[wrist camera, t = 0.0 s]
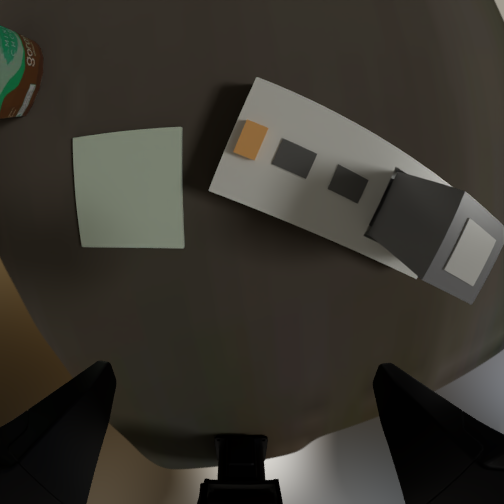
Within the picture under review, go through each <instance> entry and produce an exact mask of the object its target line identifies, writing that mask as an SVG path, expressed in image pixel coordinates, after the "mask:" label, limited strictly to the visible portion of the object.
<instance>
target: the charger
mask: <svg viewBox="0 0 504 504" xmlns="http://www.w3.org/2000/svg"><path fill="white" fill-rule="evenodd" d="M369 225H370V226H371V229H370V231H369V233H368V234H369V235H370V236H371V237H372V238H374V239H375V240H376V241H377V242H378V243H380V244H381V245H382V246H383V247H384V248H386V249H387V250H388V251H389V252H390V253H392V254H393V255H394V256H395V257H396V258H397V259H399V260H400V261H401V262H402V263H403V264H404V265H406V266H407V267H408V268H409V269H410V270H411V271H412V272H414V273H415V274H416V275H417V276H418V277H419V278H420V279H421V280H423V281H425V282H427V283H429V284H431V285H433V286H435V287H437V288H439V289H441V290H443V291H445V292H447V293H449V294H451V295H453V296H455V297H457V298H459V299H461V300H463V301H465V302H467V303H469V304H471V305H472V303H473V302H474V300H475V298H476V297H477V295H478V293H479V291H480V290H481V288H482V286H483V284H484V282H485V280H486V279H487V277H488V275H489V273H490V271H491V269H492V267H493V265H494V263H495V261H496V259H497V257H498V255H499V253H500V251H501V248H502V246H503V244H504V226H503V225H502V224H501V223H500V222H499V221H498V220H497V219H496V218H495V217H494V216H493V215H492V214H490V213H489V212H488V211H487V210H486V209H485V208H484V207H483V206H482V205H481V204H479V203H478V202H477V201H476V200H475V199H474V198H472V197H471V196H470V195H469V194H468V193H467V192H465V191H463V190H460V189H457V188H453V187H450V186H447V185H444V184H441V183H437V182H434V181H430V180H427V179H423V178H420V177H416V176H413V175H409V174H405V173H401V172H397V174H396V176H395V178H394V179H392V178H391V179H390V181H389V183H388V185H387V188H386V190H385V192H384V194H383V196H382V199H381V201H380V203H379V205H378V207H377V209H376V211H375V213H374V215H373V217H372V219H371V222H370V224H369Z"/></svg>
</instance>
